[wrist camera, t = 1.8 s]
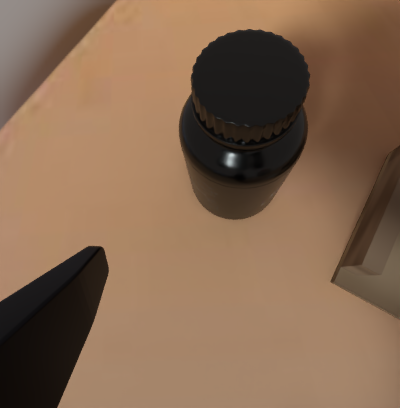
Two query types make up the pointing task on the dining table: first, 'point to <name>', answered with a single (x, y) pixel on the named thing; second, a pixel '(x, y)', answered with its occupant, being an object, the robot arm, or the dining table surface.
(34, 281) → the robot arm
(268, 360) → the dining table surface
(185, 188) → the dining table surface
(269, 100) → the supplement bottle
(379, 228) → the walnut well
